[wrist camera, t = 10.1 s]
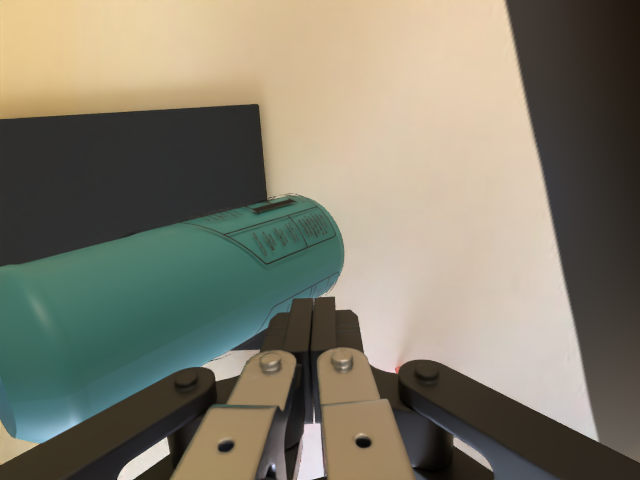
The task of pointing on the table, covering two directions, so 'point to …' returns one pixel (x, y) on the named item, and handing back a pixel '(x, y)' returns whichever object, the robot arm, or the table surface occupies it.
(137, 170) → the mat
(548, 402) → the table surface
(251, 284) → the beverage bottle
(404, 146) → the table surface
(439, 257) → the table surface
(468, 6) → the table surface
